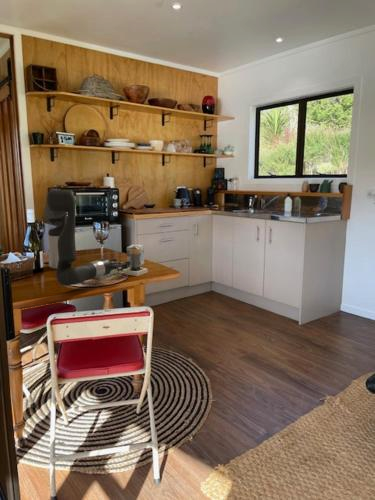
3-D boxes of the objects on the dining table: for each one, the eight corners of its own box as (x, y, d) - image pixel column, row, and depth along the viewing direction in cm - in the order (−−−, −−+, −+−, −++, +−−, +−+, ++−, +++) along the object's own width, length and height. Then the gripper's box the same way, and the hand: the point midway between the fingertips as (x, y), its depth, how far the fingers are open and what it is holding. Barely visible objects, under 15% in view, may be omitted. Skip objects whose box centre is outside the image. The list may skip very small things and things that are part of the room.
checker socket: (122, 273, 189) (122, 269, 189) (134, 270, 197) (133, 266, 196) (136, 276, 185) (136, 272, 184) (147, 272, 192) (147, 268, 192)
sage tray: (80, 275, 185) (80, 270, 184) (99, 269, 196) (99, 265, 195) (99, 279, 178) (99, 273, 178) (118, 273, 189) (118, 268, 189)
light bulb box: (138, 267, 202) (138, 247, 200) (126, 266, 203) (126, 247, 201) (144, 263, 212) (144, 244, 210) (133, 262, 214) (133, 243, 212)
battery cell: (128, 273, 190) (128, 246, 187) (134, 271, 194) (134, 245, 191) (136, 274, 187) (135, 247, 185) (142, 272, 191) (141, 246, 189)
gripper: (110, 262, 163) (134, 256, 177) (86, 258, 170) (111, 252, 184) (110, 279, 165) (134, 271, 178) (87, 274, 172) (111, 267, 185)
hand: (122, 262), depth 181 cm, fingers open, 8 cm apart
